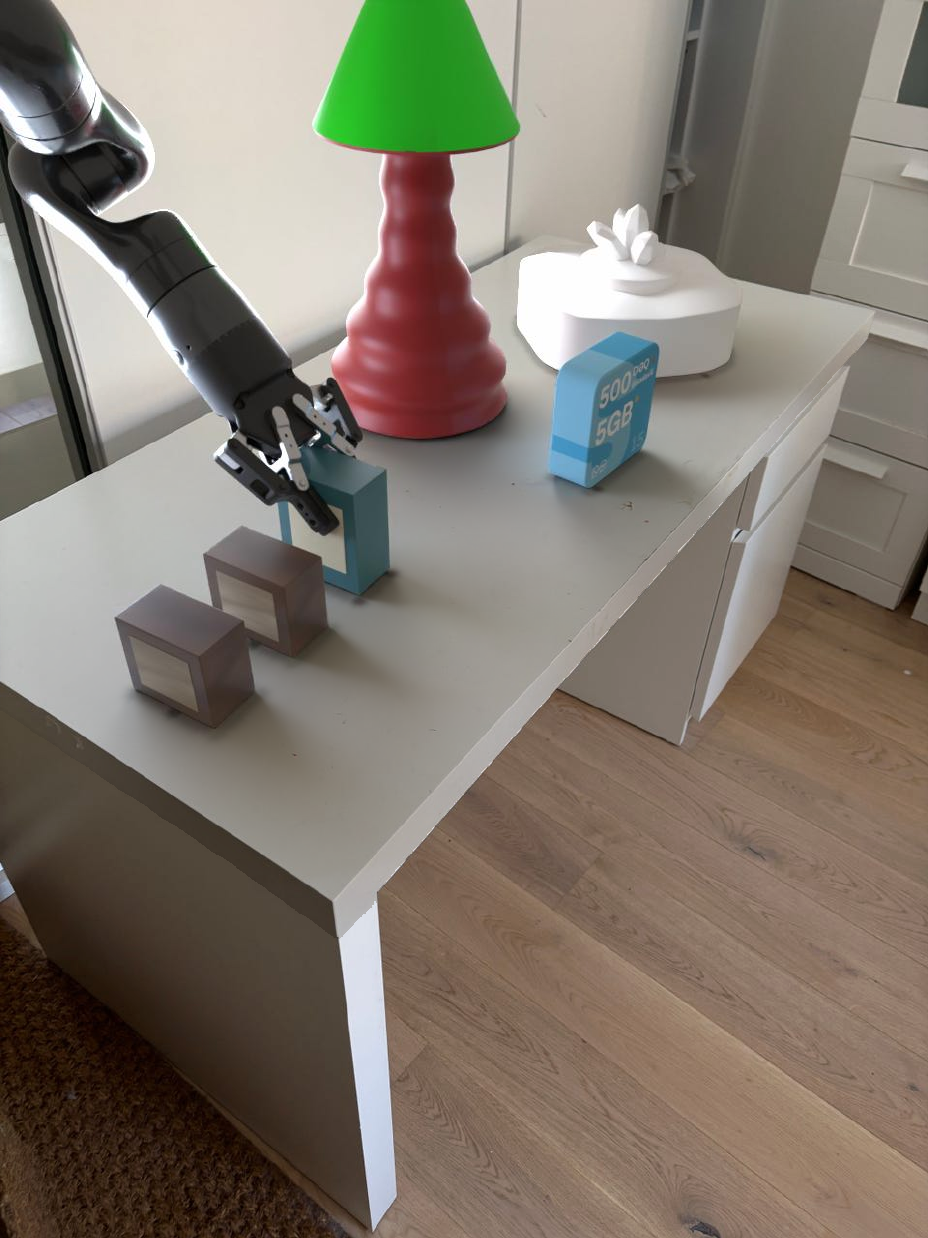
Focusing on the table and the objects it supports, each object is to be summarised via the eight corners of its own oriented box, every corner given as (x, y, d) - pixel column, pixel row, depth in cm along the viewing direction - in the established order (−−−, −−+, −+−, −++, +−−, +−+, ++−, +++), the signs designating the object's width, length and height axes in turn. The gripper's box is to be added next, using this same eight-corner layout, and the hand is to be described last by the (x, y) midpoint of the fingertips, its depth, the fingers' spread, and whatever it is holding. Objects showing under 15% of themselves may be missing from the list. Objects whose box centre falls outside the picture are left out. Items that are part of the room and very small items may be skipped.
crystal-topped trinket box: (558, 386, 112) (571, 246, 102) (501, 304, 131) (507, 178, 120) (754, 368, 117) (786, 232, 107) (673, 291, 136) (693, 169, 125)
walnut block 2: (292, 658, 76) (283, 588, 71) (214, 623, 79) (201, 553, 74) (328, 625, 79) (322, 556, 74) (252, 593, 82) (241, 524, 77)
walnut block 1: (213, 729, 70) (198, 657, 65) (133, 688, 73) (113, 617, 68) (256, 691, 73) (244, 620, 68) (176, 653, 76) (160, 582, 71)
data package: (584, 494, 95) (597, 380, 87) (546, 478, 97) (556, 366, 89) (645, 446, 102) (662, 338, 94) (609, 433, 104) (622, 326, 96)
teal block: (359, 595, 81) (353, 495, 75) (284, 565, 84) (272, 466, 78) (390, 567, 85) (386, 468, 78) (317, 539, 88) (308, 441, 81)
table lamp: (366, 457, 99) (339, -83, 70) (309, 376, 113) (267, -103, 84) (537, 422, 106) (576, -86, 77) (463, 350, 119) (473, -104, 91)
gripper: (175, 351, 69) (322, 541, 72) (300, 288, 79) (425, 459, 82) (136, 399, 75) (274, 574, 78) (257, 335, 84) (376, 493, 87)
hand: (351, 514), depth 80 cm, fingers closed on teal block, 4 cm apart
